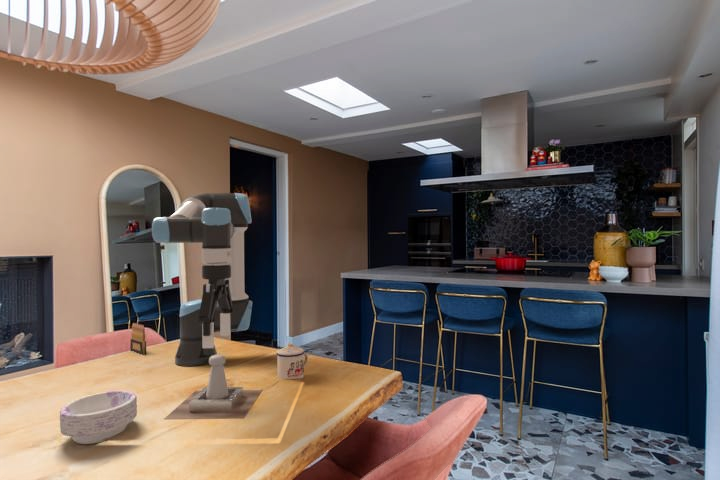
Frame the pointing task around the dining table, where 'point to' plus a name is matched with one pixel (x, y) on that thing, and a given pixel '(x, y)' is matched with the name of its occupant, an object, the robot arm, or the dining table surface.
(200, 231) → the robot arm
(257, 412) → the dining table surface
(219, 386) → the salt shaker
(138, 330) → the brown flat upright block
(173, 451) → the dining table surface
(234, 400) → the metal collar
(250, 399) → the walnut board
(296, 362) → the teacup with lid
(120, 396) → the paper bowls
